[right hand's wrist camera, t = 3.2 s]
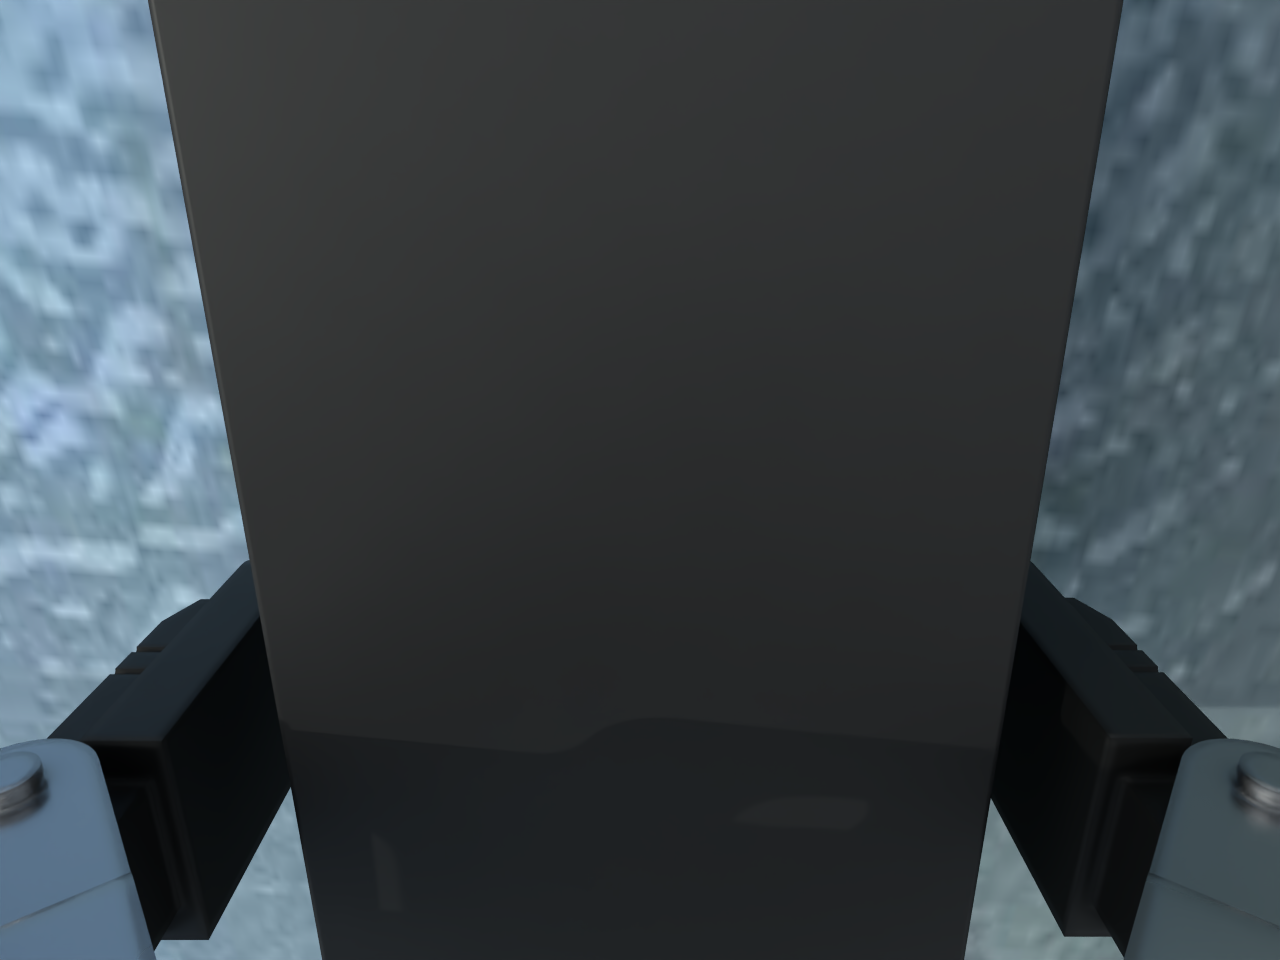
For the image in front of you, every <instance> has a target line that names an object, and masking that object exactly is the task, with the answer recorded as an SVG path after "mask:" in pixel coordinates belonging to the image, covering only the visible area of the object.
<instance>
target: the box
mask: <svg viewBox="0 0 1280 960" xmlns="http://www.w3.org/2000/svg"><path fill="white" fill-rule="evenodd" d="M148 3H149V9H150V14H151V20H152V25H153V31H154V36H155V42H156V47H157V53H158V58H159V64H160V69H161V75H162V80H163V86H164V91H165V97H166V102H167V108H168V113H169V119H170V124H171V130H172V135H173V141H174V146H175V152H176V157H177V163H178V168H179V174H180V179H181V185H182V190H183V196H184V201H185V207H186V212H187V218H188V223H189V229H190V234H191V240H192V245H193V251H194V256H195V262H196V267H197V273H198V278H199V284H200V289H201V295H202V300H203V306H204V311H205V317H206V322H207V328H208V333H209V339H210V344H211V350H212V355H213V361H214V366H215V372H216V377H217V383H218V388H219V394H220V399H221V405H222V410H223V416H224V421H225V427H226V432H227V438H228V443H229V449H230V454H231V460H232V465H233V471H234V476H235V482H236V487H237V493H238V498H239V504H240V509H241V515H242V520H243V526H244V531H245V537H246V542H247V548H248V553H249V559H250V564H251V570H252V575H253V581H254V586H255V592H256V597H257V603H258V608H259V614H260V619H261V625H262V630H263V636H264V641H265V647H266V652H267V658H268V663H269V669H270V674H271V680H272V685H273V691H274V696H275V702H276V707H277V713H278V718H279V724H280V729H281V735H282V740H283V746H284V751H285V757H286V762H287V768H288V773H289V779H290V784H291V790H292V795H293V801H294V806H295V812H296V817H297V823H298V828H299V834H300V839H301V845H302V850H303V856H304V861H305V867H306V872H307V878H308V883H309V889H310V894H311V900H312V905H313V911H314V916H315V922H316V927H317V933H318V938H319V944H320V949H321V955H322V960H964V956H965V950H966V944H967V938H968V932H969V926H970V920H971V914H972V908H973V902H974V896H975V890H976V884H977V878H978V872H979V865H980V859H981V853H982V847H983V841H984V835H985V829H986V823H987V817H988V811H989V805H990V799H991V793H992V787H993V781H994V775H995V769H996V763H997V757H998V751H999V745H1000V739H1001V733H1002V727H1003V721H1004V715H1005V709H1006V703H1007V697H1008V691H1009V685H1010V679H1011V673H1012V667H1013V661H1014V655H1015V649H1016V643H1017V637H1018V631H1019V625H1020V619H1021V613H1022V607H1023V601H1024V595H1025V589H1026V583H1027V577H1028V571H1029V565H1030V559H1031V553H1032V547H1033V541H1034V535H1035V529H1036V523H1037V517H1038V511H1039V505H1040V499H1041V493H1042V487H1043V481H1044V475H1045V469H1046V463H1047V457H1048V451H1049V445H1050V439H1051V433H1052V427H1053V421H1054V415H1055V409H1056V403H1057V396H1058V390H1059V384H1060V378H1061V372H1062V366H1063V360H1064V354H1065V348H1066V342H1067V336H1068V330H1069V324H1070V318H1071V312H1072V306H1073V300H1074V294H1075V288H1076V282H1077V276H1078V270H1079V264H1080V258H1081V252H1082V246H1083V240H1084V234H1085V228H1086V222H1087V216H1088V210H1089V204H1090V198H1091V192H1092V186H1093V180H1094V174H1095V168H1096V162H1097V156H1098V150H1099V144H1100V138H1101V132H1102V126H1103V120H1104V114H1105V108H1106V102H1107V96H1108V90H1109V84H1110V78H1111V72H1112V66H1113V60H1114V54H1115V48H1116V42H1117V36H1118V30H1119V24H1120V18H1121V12H1122V6H1123V0H148Z"/></svg>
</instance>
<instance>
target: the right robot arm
mask: <svg viewBox="0 0 1280 960" xmlns="http://www.w3.org/2000/svg"><path fill="white" fill-rule="evenodd" d="M115 670H116V671H115V674H110V675H109V676H108V677H107V678H106V679H105V680H104V681H103V682H102V683H101V684H100V685H99V686H98V687H97V688H96V689H95V690H94V691H93V692H92V693H91V694H90V695H89V696H88V697H87V698H86V699H85V700H84V701H83V702H82V703H81V704H80V705H79V706H78V707H77V708H76V709H75V710H74V711H73V712H72V713H71V714H70V715H69V716H68V718H67V719H66V720H65V721H64V722H63V723H62V724H61V725H60V726H59V727H58V728H57V729H56V730H55V731H54V732H53V733H52V734H51V735H50V736H49V737H48V738H47V739H41V740H32V741H27V742H23V743H18V744H14V745H10V746H7V747H3V748H0V960H156V957H155V953H154V951H155V949H156V947H157V946H158V944H159V942H160V941H161V940H209V938H210V936H211V935H212V933H213V931H214V929H215V927H216V925H217V923H218V922H219V920H220V918H221V916H222V914H223V912H224V910H225V908H226V907H227V905H228V903H229V901H230V899H231V897H232V895H233V894H234V892H235V890H236V888H237V886H238V884H239V882H240V880H241V879H242V877H243V875H244V873H245V871H246V869H247V867H248V866H249V864H250V862H251V860H252V858H253V856H254V854H255V852H256V851H257V849H258V847H259V845H260V843H261V841H262V839H263V838H264V836H265V834H266V832H267V830H268V828H269V826H270V824H271V823H272V821H273V819H274V817H275V815H276V813H277V811H278V810H279V808H280V806H281V804H282V802H283V800H284V798H285V796H286V795H287V793H288V791H289V789H290V787H291V784H290V779H289V773H288V768H287V762H286V757H285V751H284V746H283V740H282V735H281V729H280V724H279V718H278V713H277V707H276V702H275V696H274V691H273V685H272V680H271V674H270V669H269V663H268V658H267V652H266V647H265V641H264V636H263V630H262V625H261V619H260V614H259V608H258V603H257V597H256V592H255V586H254V581H253V575H252V570H251V564H250V560H248V561H246V562H244V563H243V564H242V565H241V566H240V567H239V568H238V569H237V570H236V571H235V572H234V573H233V575H232V576H231V577H230V578H229V579H228V580H227V581H226V582H225V583H224V584H223V585H222V586H221V587H220V589H219V590H218V591H217V592H216V593H215V594H214V595H213V596H212V597H211V598H210V599H200V600H199V601H197V602H195V603H193V604H192V605H190V606H188V607H186V608H185V609H183V610H181V611H179V612H177V613H176V614H174V615H172V616H170V617H169V618H167V619H165V620H163V621H162V622H161V623H160V624H159V625H158V626H157V627H156V628H155V629H154V630H153V631H152V632H151V633H150V634H149V635H148V636H147V637H146V638H145V639H144V640H143V641H142V642H141V643H140V644H139V645H138V646H137V651H136V652H131V653H130V654H129V655H128V656H127V657H126V658H125V659H124V660H123V661H122V663H121V664H120V665H119V666H118V667H117V668H116V669H115ZM991 799H992V801H993V803H994V805H995V807H996V808H997V810H998V812H999V814H1000V816H1001V818H1002V820H1003V822H1004V824H1005V825H1006V827H1007V829H1008V831H1009V833H1010V835H1011V837H1012V839H1013V841H1014V842H1015V844H1016V846H1017V848H1018V850H1019V852H1020V854H1021V856H1022V858H1023V859H1024V861H1025V863H1026V865H1027V867H1028V869H1029V871H1030V873H1031V875H1032V876H1033V878H1034V880H1035V882H1036V884H1037V886H1038V888H1039V890H1040V892H1041V893H1042V895H1043V897H1044V899H1045V901H1046V903H1047V905H1048V907H1049V909H1050V910H1051V912H1052V914H1053V916H1054V918H1055V920H1056V922H1057V924H1058V926H1059V927H1060V929H1061V931H1062V933H1063V935H1064V937H1112V938H1113V940H1114V942H1115V943H1116V945H1117V947H1118V948H1119V950H1120V952H1121V954H1122V955H1123V957H1124V960H1280V748H1277V747H1273V746H1270V745H1266V744H1262V743H1257V742H1253V741H1248V740H1239V739H1228V738H1227V737H1226V736H1225V735H1224V734H1223V733H1222V732H1221V731H1220V730H1219V729H1218V728H1217V727H1216V726H1215V725H1214V724H1213V723H1212V722H1211V721H1210V720H1209V719H1208V718H1207V717H1206V716H1205V715H1204V714H1203V713H1202V712H1201V710H1200V709H1199V708H1198V707H1197V706H1196V705H1195V704H1194V703H1193V702H1192V701H1191V700H1190V699H1189V698H1188V697H1187V696H1186V695H1185V694H1184V693H1183V692H1182V691H1181V690H1180V689H1179V688H1178V687H1177V686H1176V685H1175V684H1174V683H1173V682H1172V681H1171V680H1170V679H1169V678H1168V677H1167V676H1166V675H1165V673H1164V672H1158V666H1157V665H1156V664H1155V663H1154V662H1153V661H1152V660H1151V659H1150V658H1149V657H1148V656H1147V655H1146V654H1145V653H1144V652H1143V651H1142V650H1137V645H1136V644H1135V643H1134V642H1133V641H1132V640H1131V639H1130V638H1129V637H1128V635H1127V634H1126V633H1125V632H1124V631H1123V630H1122V629H1121V628H1120V627H1119V626H1118V625H1117V624H1116V623H1115V622H1114V621H1113V620H1112V619H1110V618H1108V617H1107V616H1105V615H1103V614H1101V613H1100V612H1098V611H1096V610H1094V609H1093V608H1091V607H1089V606H1087V605H1085V604H1084V603H1082V602H1080V601H1078V600H1077V599H1075V598H1064V597H1063V596H1062V594H1061V593H1060V592H1059V591H1058V590H1057V589H1056V588H1055V587H1054V586H1053V585H1052V584H1051V582H1050V581H1049V580H1048V579H1047V578H1046V577H1045V576H1044V575H1043V574H1042V573H1041V572H1040V570H1039V569H1038V568H1037V567H1036V566H1035V565H1034V564H1033V563H1032V562H1031V561H1030V565H1029V571H1028V577H1027V583H1026V589H1025V595H1024V601H1023V607H1022V613H1021V619H1020V625H1019V631H1018V637H1017V643H1016V649H1015V655H1014V661H1013V667H1012V673H1011V679H1010V685H1009V691H1008V697H1007V703H1006V709H1005V715H1004V721H1003V727H1002V733H1001V739H1000V745H999V751H998V757H997V763H996V769H995V775H994V781H993V787H992V793H991Z"/></svg>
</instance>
